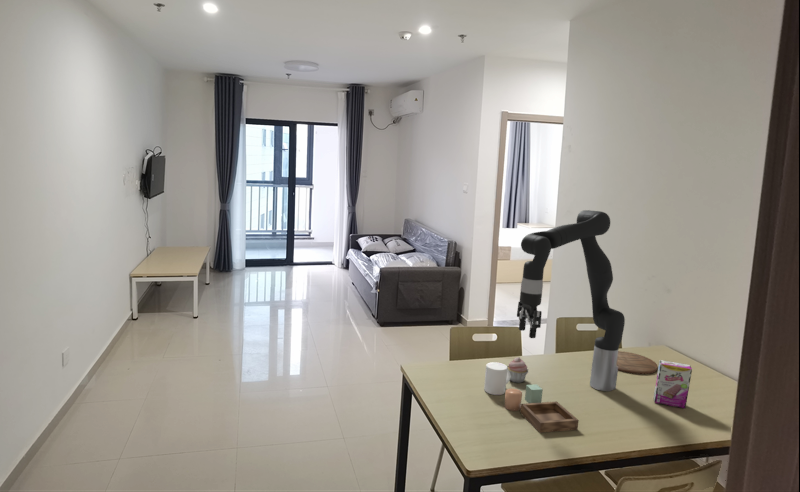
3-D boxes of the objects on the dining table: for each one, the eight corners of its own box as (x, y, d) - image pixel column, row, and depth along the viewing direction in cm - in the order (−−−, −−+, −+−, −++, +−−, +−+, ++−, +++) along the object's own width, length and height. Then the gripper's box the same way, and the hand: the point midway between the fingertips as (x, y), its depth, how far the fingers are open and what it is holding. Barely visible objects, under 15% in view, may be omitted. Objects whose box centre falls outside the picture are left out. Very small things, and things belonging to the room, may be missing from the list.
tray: (555, 410, 201) (556, 401, 201) (577, 429, 188) (578, 420, 187) (520, 412, 198) (521, 403, 197) (539, 432, 184) (540, 423, 183)
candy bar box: (654, 403, 212) (660, 363, 209) (653, 398, 217) (658, 359, 214) (686, 409, 209) (692, 368, 206) (684, 404, 213) (690, 364, 210)
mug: (481, 364, 215) (502, 358, 222) (479, 389, 216) (500, 382, 224) (497, 371, 208) (518, 365, 215) (495, 397, 210) (516, 390, 217)
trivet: (667, 376, 241) (667, 372, 241) (610, 373, 241) (610, 369, 241) (643, 356, 266) (643, 352, 266) (591, 353, 266) (592, 349, 266)
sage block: (535, 399, 210) (536, 384, 209) (541, 404, 206) (542, 389, 205) (524, 399, 209) (526, 384, 208) (530, 405, 205) (531, 389, 204)
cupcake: (523, 386, 221) (525, 363, 219) (501, 380, 226) (503, 357, 224) (530, 379, 229) (533, 356, 227) (509, 373, 234) (511, 351, 232)
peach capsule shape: (516, 403, 206) (517, 388, 205) (523, 410, 200) (525, 395, 199) (501, 403, 204) (502, 388, 203) (508, 411, 199) (509, 395, 198)
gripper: (550, 295, 189) (545, 340, 192) (532, 285, 203) (527, 327, 205) (530, 295, 187) (526, 340, 190) (513, 285, 201) (509, 327, 204)
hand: (526, 333), depth 198 cm, fingers open, 8 cm apart
